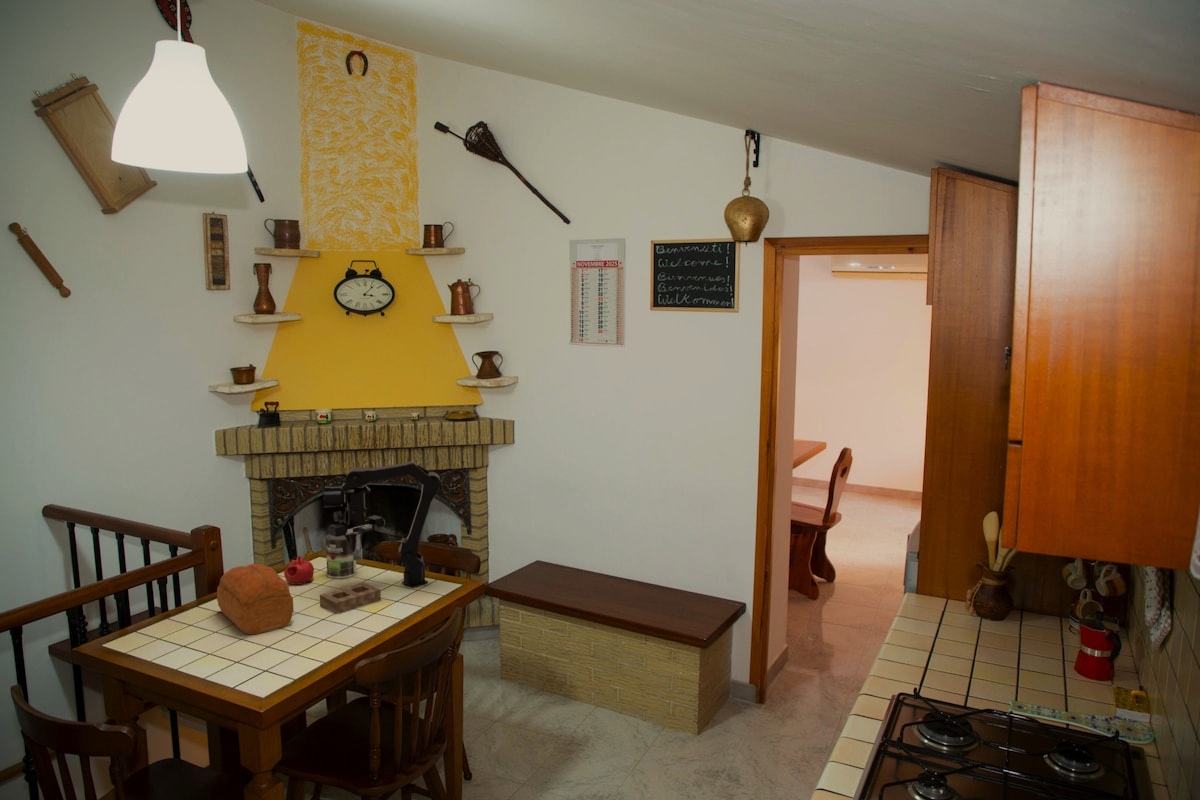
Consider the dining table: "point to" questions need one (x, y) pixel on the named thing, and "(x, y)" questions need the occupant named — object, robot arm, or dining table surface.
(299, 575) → the pomegranate
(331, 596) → the socket block
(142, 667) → the dining table surface
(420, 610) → the dining table surface
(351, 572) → the coffee can
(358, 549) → the peg
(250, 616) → the bread
